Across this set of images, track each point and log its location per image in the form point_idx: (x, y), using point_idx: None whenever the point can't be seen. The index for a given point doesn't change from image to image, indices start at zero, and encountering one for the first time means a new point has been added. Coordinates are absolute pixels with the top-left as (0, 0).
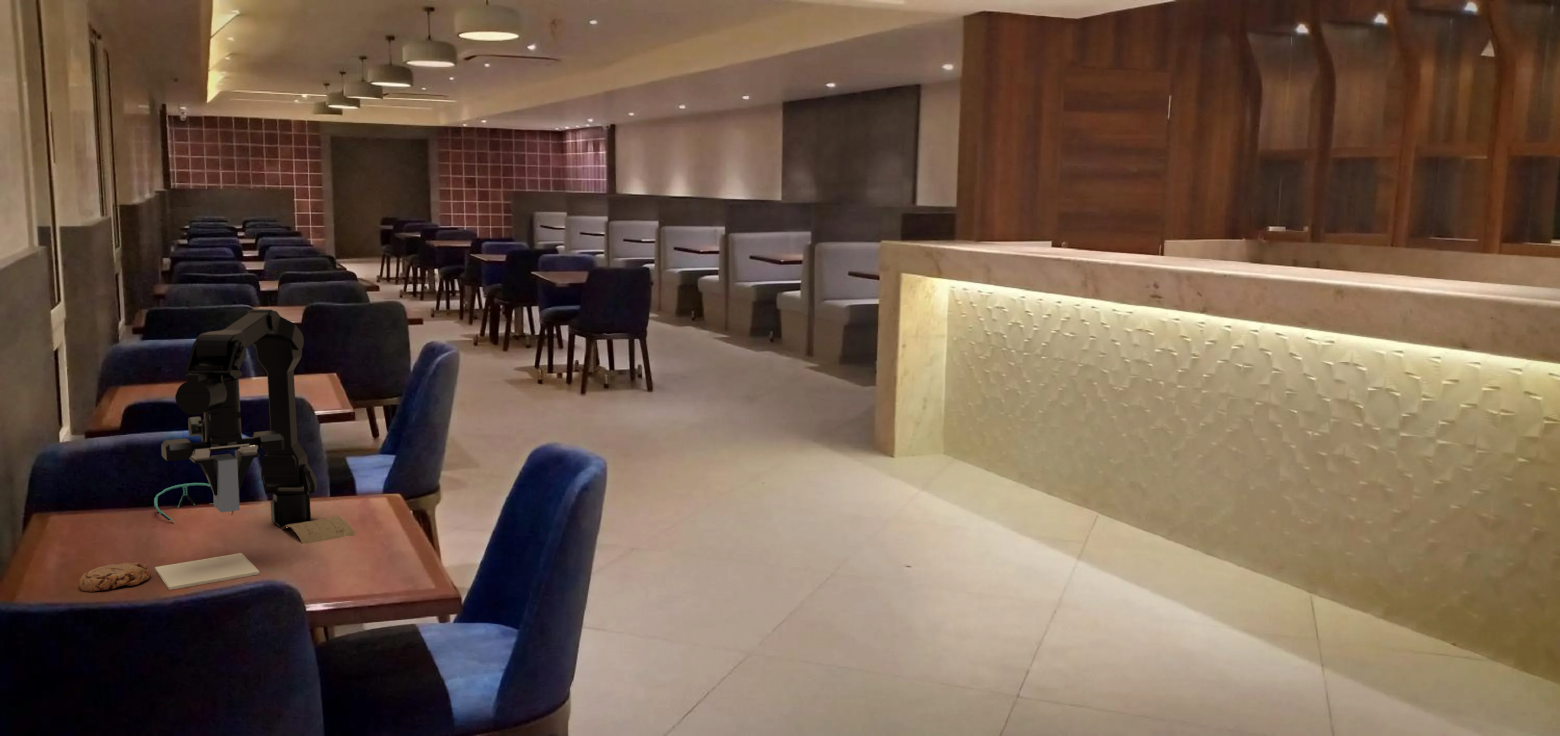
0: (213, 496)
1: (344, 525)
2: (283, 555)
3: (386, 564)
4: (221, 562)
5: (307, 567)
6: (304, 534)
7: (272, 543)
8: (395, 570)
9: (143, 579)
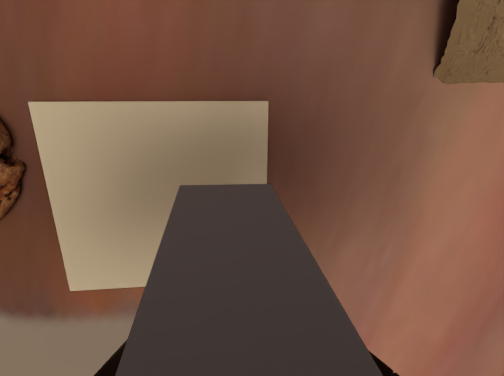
0: (174, 206)
1: None
2: (352, 163)
3: (473, 330)
4: (204, 163)
5: (358, 279)
6: (465, 47)
7: (373, 20)
8: (464, 366)
9: (4, 214)
